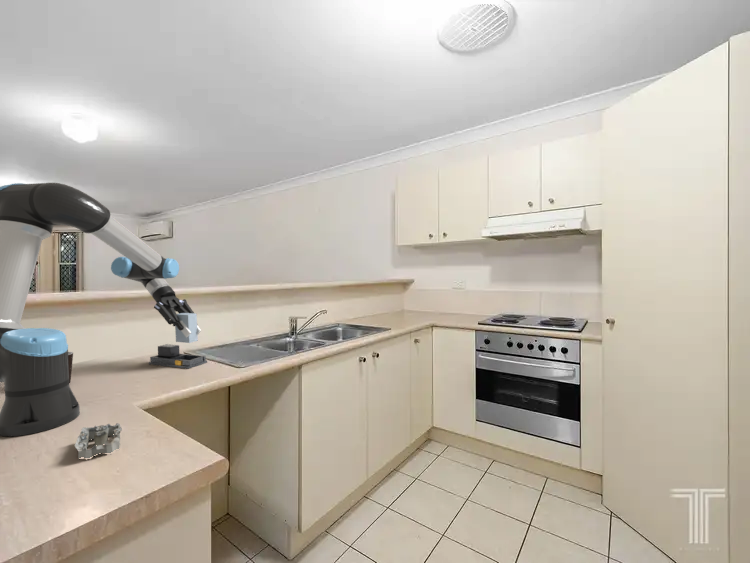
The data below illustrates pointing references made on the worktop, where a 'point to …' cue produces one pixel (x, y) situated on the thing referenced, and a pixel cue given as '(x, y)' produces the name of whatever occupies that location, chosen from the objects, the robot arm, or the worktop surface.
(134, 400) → the worktop surface
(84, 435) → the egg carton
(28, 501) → the worktop surface
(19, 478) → the worktop surface
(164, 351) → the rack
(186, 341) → the light blue upright block
